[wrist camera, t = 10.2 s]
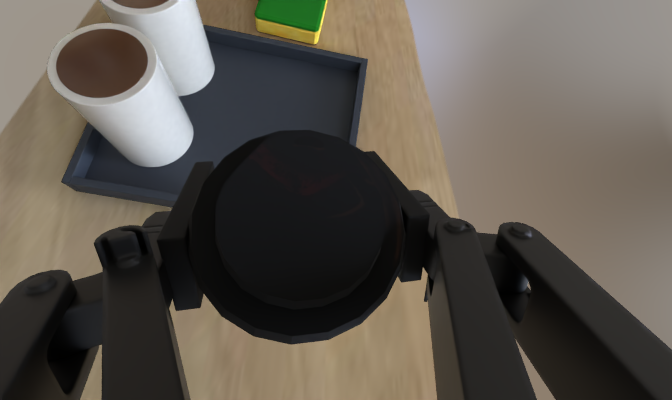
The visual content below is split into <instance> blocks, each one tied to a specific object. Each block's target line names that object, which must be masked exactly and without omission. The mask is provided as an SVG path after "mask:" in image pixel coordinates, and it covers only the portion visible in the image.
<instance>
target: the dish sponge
mask: <svg viewBox="0 0 672 400" xmlns="http://www.w3.org/2000/svg"><path fill="white" fill-rule="evenodd" d="M327 1H328V0H259V1H258V4H257V7H256V10H255V21H256V29H257V30H258V32H262V33H267V34H271V35H275V36H280V37H284V38H288V39H292V40H297V41H301V42H305V43H310V44H316V43H318V39H319V35H320V30H321V26H322V22H323V18H324V14H325V10H326V5H327Z"/></svg>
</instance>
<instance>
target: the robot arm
mask: <svg viewBox="0 0 672 400" xmlns="http://www.w3.org/2000/svg"><path fill="white" fill-rule="evenodd" d="M365 153H366V154H367V155H368V156H369V157H370V158H371V159H372V160H373V161H374V162H375V163H376V165H377V166H378V167H379V168H380V169H381V170H382V171H383V172H384V173H385V174H386V176H387V178H388V180H389V182H390V184H391V186H392V188H393V190H394V192H395V194H396V196H397V198H398V200H399V202H400V205H401V210H402V216H403V222H404V228H405V234H406V239H405V246H404V253H403V260H402V267H401V270H400V272H399V274H398V277H399V279H400V281H401V282H407V281H415V280H421V276H422V268H423V267H424V269H425V270H426V272H427V273H428V278H427V285H426V291H425V298H424V301H425V302H427V300H428V307H429V317H430V328H431V338H432V349H433V359H434V370H435V380H436V391H437V400H537V399H536V396H535V393H534V391H533V388H532V385H531V382H530V379H529V376H528V374H527V371H526V368H525V366H524V363H523V360H522V357H521V355H520V352H519V349H518V346H517V344H516V340H517V342H518V343H519V345H520V346H521V348H522V349H523V351H524V352H525V354H526V355H527V357H528V358H529V360H530V362H531V363H532V364H533V366H534V368H535V369H536V371H537V372H538V374H539V375H540V377H541V378H542V380H543V381H544V383H545V384H546V386H547V387H548V389H549V390H550V392H551V393H552V395H553V396H554V398H555V399H556V400H672V350H671V349H670V348H669V347H668V346H667V345H666V344H665V343H663V342H662V341H661V340H660V339H659V338H658V337H657V336H656V335H654V334H653V333H652V332H651V331H650V330H649V329H648V328H647V327H646V326H644V325H643V324H642V323H641V322H640V321H639V320H638V319H637V318H636V317H634V316H633V315H632V314H631V313H630V312H629V311H628V310H627V309H625V308H624V307H623V306H622V305H621V304H620V303H619V302H617V301H616V300H615V299H614V298H613V297H612V296H611V295H610V294H609V293H607V292H606V291H605V290H604V289H603V288H602V287H601V286H600V285H598V284H597V283H596V282H595V281H594V280H593V279H592V278H591V277H589V276H588V275H587V274H586V273H585V272H584V271H583V270H582V269H580V268H579V267H578V266H577V265H576V264H575V263H574V262H573V261H572V260H570V259H569V258H568V257H567V256H566V255H565V254H564V253H563V252H561V251H560V250H559V249H558V248H557V247H556V246H555V245H554V244H552V243H551V242H550V241H549V240H548V239H547V238H546V237H544V236H543V235H542V234H541V233H540V232H539V231H537V230H536V229H534V228H533V227H530V226H528V225H526V224H523V223H522V224H521V223H518V222H515V223H514V222H509V223H503V224H501V225H500V227H499V230H498V234H487V233H477V232H476V230H475V228H474V227H473V226H472V225H471V224H470V223H468V222H467V221H464V220H461V219H456V218H450V217H449V216H448V215H447V214H446V213H445V212H444V211H443V210H442V209H441V208H440V207H439V206H438V205H437V204H436V203H435V202H433V200H432V199H431V198H430V197H429V196H428V195H427V194H425V193H423V192H421V191H419V190H411V191H409V190H408V189H407V188H406V187H405V185H404V184H403V183H402V182H401V181H400V180H399V179H398V178H397V176H396V175H395V174H394V173H393V172H392V171H391V170H390V168H389V167H388V166H387V165H386V164H385V163H384V162H383V161H382V159H381V158H380V157H379V156H378V155H377V154H376V153H375V151H370V152H365ZM213 170H214V164H213V161H204V162H195V164H194V166H193V168H192V170H191V172H190V174H189V176H188V178H187V180H186V182H185V184H184V186H183V188H182V190H181V192H180V194H179V196H178V198H177V200H176V202H175V204H174V206H173V208H172V210H171V211H164V212H156V213H154V214H153V215H151V216H150V217H149V218H147V219H146V220H145V222H144V224H143V225H142V227H141V226H134V225H129V226H123V227H118V228H115V229H112V230H109V231H107V232H105V233H103V234H102V235H100V236H99V237H98V238H97V239H96V240H95V242H94V246H95V248H96V251H97V254H98V256H99V259H100V262H101V264H102V267H103V272H101V273H99V274H96V275H93V276H89V277H85V278H82V279H78V280H75V281H72V278H71V276H70V274H69V273H68V272H67V271H63V270H50V271H46V272H40V273H37V274H35V275H32V276H30V277H28V278H27V279H25V280H23V281H22V282H20V283H18V284H17V285H16V286H15V287H14V288H13V289H12V290H11V291H10V292H9V293H8V295H7V296H6V297H5V298H4V300H3V301H2V302H1V303H0V400H80V398H81V395H82V392H83V390H84V387H85V384H86V381H87V379H88V376H89V373H90V370H91V368H92V365H93V362H94V360H95V357H96V354H97V351H98V349H99V345H101V344H102V400H190V395H189V391H188V387H187V382H186V378H185V374H184V369H183V365H182V360H181V356H180V352H179V347H178V343H177V339H176V334H175V330H174V326H173V321H172V317H171V314H170V310H169V307H170V304H171V301H172V298H173V302H174V306H175V309H176V311H179V310H187V309H194V308H200V307H201V303H202V298H203V294H204V293H203V292H202V290H201V289H200V288H199V286H198V283H197V280H196V277H195V274H194V270H193V267H192V264H191V261H190V258H189V254H188V238H189V216H190V214H191V211H192V208H193V206H194V203H195V200H196V198H197V195H198V192H199V190H200V187H201V185H202V184H203V183H204V181H205V180H206V179H207V178H208V176H209V175H210V174H211V173H212V171H213ZM528 281H529V284H530V287H531V290H530V289H529V288H528V287H527V284H528ZM514 337H515V338H514ZM515 339H516V340H515Z"/></svg>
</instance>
